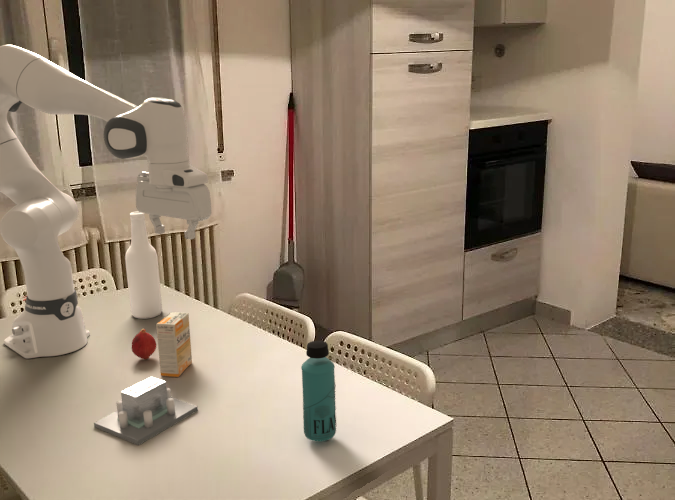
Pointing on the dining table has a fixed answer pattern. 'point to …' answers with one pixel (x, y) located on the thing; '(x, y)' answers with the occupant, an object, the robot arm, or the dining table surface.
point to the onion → (143, 345)
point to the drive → (144, 399)
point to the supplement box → (174, 344)
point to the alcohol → (142, 271)
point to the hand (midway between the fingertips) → (174, 236)
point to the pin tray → (145, 432)
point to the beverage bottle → (318, 393)
